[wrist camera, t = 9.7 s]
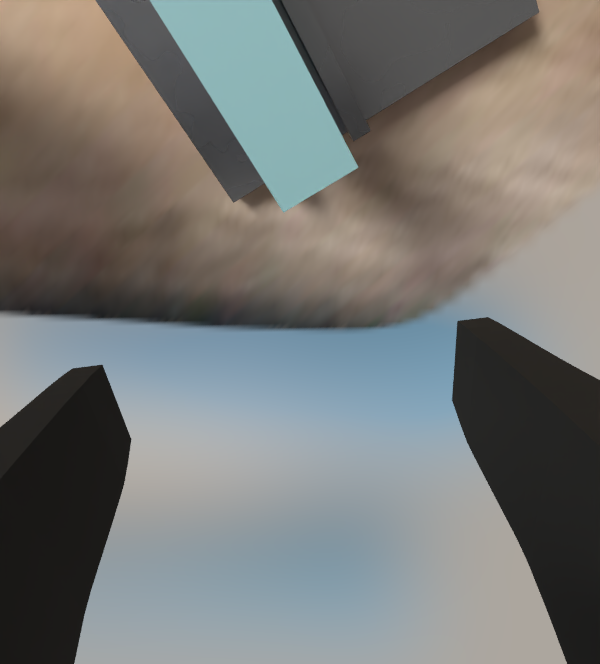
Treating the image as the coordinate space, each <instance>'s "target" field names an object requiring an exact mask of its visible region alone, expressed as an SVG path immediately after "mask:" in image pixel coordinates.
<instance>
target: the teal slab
mask: <svg viewBox="0 0 600 664" xmlns="http://www.w3.org/2000/svg"><path fill="white" fill-rule="evenodd" d="M150 2H151V3H152V5H153V6H154V8H155V10H156V11H157V13H158V14H159V16H160V18H161V19H162V21H163V22H164V24H165V25H166V27H167V29H168V30H169V32H170V33H171V35H172V37H173V38H174V40H175V41H176V43H177V44H178V46H179V48H180V49H181V51H182V52H183V54H184V56H185V57H186V59H187V60H188V62H189V64H190V65H191V67H192V68H193V70H194V71H195V73H196V75H197V76H198V78H199V79H200V81H201V83H202V84H203V86H204V87H205V89H206V91H207V92H208V94H209V95H210V97H211V98H212V100H213V102H214V103H215V105H216V106H217V108H218V110H219V111H220V113H221V114H222V116H223V117H224V119H225V121H226V122H227V124H228V125H229V127H230V129H231V130H232V132H233V133H234V135H235V137H236V138H237V140H238V141H239V143H240V144H241V146H242V148H243V149H244V151H245V152H246V154H247V156H248V157H249V159H250V160H251V162H252V163H253V165H254V167H255V168H256V170H257V171H258V173H259V175H260V176H261V178H262V179H263V181H264V183H265V184H266V186H267V187H268V189H269V190H270V192H271V194H272V195H273V197H274V198H275V200H276V202H277V203H278V205H279V206H280V208H281V210H282V211H283V212H285V211H287V210H288V209H290V208H292V207H293V206H295V205H297V204H298V203H300V202H302V201H303V200H305V199H307V198H308V197H310V196H312V195H313V194H315V193H317V192H318V191H320V190H322V189H323V188H325V187H327V186H328V185H330V184H332V183H333V182H335V181H337V180H338V179H340V178H342V177H343V176H345V175H347V174H348V173H350V172H352V171H353V170H355V169H357V168H358V166H357V164H356V162H355V160H354V158H353V156H352V154H351V152H350V150H349V148H348V146H347V144H346V142H345V141H344V139H343V137H342V135H341V133H340V131H339V129H338V127H337V125H336V123H335V121H334V119H333V117H332V115H331V114H330V112H329V110H328V108H327V106H326V104H325V102H324V100H323V98H322V96H321V94H320V92H319V90H318V88H317V87H316V85H315V83H314V81H313V79H312V77H311V75H310V73H309V71H308V69H307V67H306V65H305V63H304V61H303V60H302V58H301V56H300V54H299V52H298V50H297V48H296V46H295V44H294V42H293V40H292V38H291V36H290V34H289V32H288V31H287V29H286V27H285V25H284V23H283V21H282V19H281V17H280V15H279V13H278V11H277V9H276V7H275V5H274V4H273V2H272V0H150Z"/></svg>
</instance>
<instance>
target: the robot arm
mask: <svg viewBox="0 0 600 664" xmlns="http://www.w3.org/2000/svg"><path fill="white" fill-rule="evenodd" d="M456 338H457V339H456V353H455V366H454V367H455V368H454V382H453V397H452V401H453V404H454V406H455V410H456V413H457V416H458V418H459V421H460V424H461V427H462V430H463V432H464V435H465V438H466V440H467V443H468V444H469V447H470V449H471V451H472V453H473V455H474V457H475V459H476V461H477V463H478V465H479V467H480V469H481V470H482V472H483V474H484V476H485V478H486V480H487V482H488V484H489V486H490V488H491V490H492V492H493V493H494V496H495V497H496V499H497V501H498V503H499V505H500V507H501V509H502V511H503V513H504V515H505V517H506V519H507V520H508V522H509V524H510V526H511V528H512V530H513V531H514V534H515V536H516V538H517V540H518V542H519V544H520V546H521V548H522V550H523V553H524V555H525V557H526V559H527V561H528V564H529V566H530V569H531V571H532V573H533V576H534V579H535V581H536V583H537V586H538V589H539V591H540V594H541V596H542V599H543V601H544V603H545V606H546V609H547V611H548V614H549V617H550V619H551V622H552V624H553V627H554V630H555V632H556V635H557V638H558V640H559V643H560V646H561V648H562V651H563V654H564V656H565V659H566V661H567V664H600V380H598V379H596V378H595V377H593V376H591V375H589V374H587V373H585V372H583V371H581V370H580V369H578V368H576V367H574V366H572V365H571V364H569V363H567V362H565V361H563V360H562V359H560V358H558V357H556V356H555V355H553V354H551V353H550V352H548V351H546V350H544V349H543V348H541V347H539V346H538V345H536V344H534V343H532V342H531V341H529V340H527V339H526V338H524V337H522V336H521V335H519V334H517V333H515V332H514V331H512V330H510V329H509V328H507V327H505V326H503V325H502V324H500V323H498V322H496V321H494V320H492V319H490V318H488V317H487V318H479V319H470V320H462V321H458V323H457V337H456ZM130 444H131V438H130V435H129V432H128V430H127V427H126V425H125V422H124V419H123V417H122V414H121V412H120V409H119V407H118V404H117V401H116V399H115V396H114V394H113V391H112V389H111V386H110V383H109V381H108V378H107V376H106V373H105V370H104V368H103V365H97V366H90V367H81V368H73V369H71V370H70V371H69V372H67V373H66V374H64V375H63V376H62V377H60V378H59V379H58V380H57V381H55V382H54V383H53V384H51V385H50V386H49V387H48V388H47V389H45V390H44V391H43V392H42V393H41V394H39V395H38V396H37V397H36V398H35V399H34V400H33V401H31V402H30V403H29V404H28V405H27V406H25V407H24V408H23V409H22V410H21V411H20V412H18V413H17V414H16V415H15V416H14V417H12V418H11V419H10V420H9V421H8V422H6V423H5V424H4V425H3V426H1V427H0V664H74V662H75V657H76V652H77V647H78V642H79V638H80V633H81V628H82V623H83V619H84V614H85V610H86V607H87V602H88V599H89V596H90V592H91V588H92V585H93V582H94V579H95V576H96V573H97V569H98V566H99V563H100V560H101V557H102V554H103V550H104V547H105V544H106V541H107V538H108V535H109V532H110V528H111V525H112V522H113V519H114V516H115V512H116V509H117V506H118V503H119V499H120V496H121V492H122V489H123V485H124V481H125V476H126V470H127V465H128V458H129V451H130Z"/></svg>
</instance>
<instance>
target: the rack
mask: <svg viewBox="0 0 600 664" xmlns="http://www.w3.org/2000/svg"><path fill="white" fill-rule="evenodd" d="M96 2H97V3H98V5H99V6H100V7H101V9H102V10H103V12H104V13H105V15H106V16H107V18H108V19H109V21H110V22H111V24H112V25H113V27H114V28H115V29H116V31H117V32H118V34H119V35H120V37H121V38H122V40H123V41H124V43H125V44H126V46H127V47H128V49H129V50H130V51H131V53H132V54H133V56H134V57H135V59H136V60H137V62H138V63H139V65H140V66H141V68H142V69H143V71H144V72H145V74H146V75H147V76H148V78H149V79H150V81H151V82H152V84H153V85H154V87H155V88H156V90H157V91H158V93H159V94H160V96H161V97H162V98H163V100H164V101H165V103H166V104H167V106H168V107H169V109H170V110H171V112H172V113H173V115H174V116H175V118H176V119H177V120H178V122H179V123H180V125H181V126H182V128H183V129H184V131H185V132H186V134H187V135H188V137H189V138H190V140H191V141H192V142H193V144H194V145H195V147H196V148H197V150H198V151H199V153H200V154H201V156H202V157H203V159H204V160H205V162H206V163H207V164H208V166H209V167H210V169H211V170H212V172H213V173H214V175H215V176H216V178H217V179H218V181H219V182H220V184H221V185H222V186H223V188H224V189H225V191H226V192H227V194H228V195H229V197H230V198H231V200H232V201H233V203H234V202H236V201H237V200H239V199H240V198H242V197H244V196H245V195H247V194H248V193H250V192H252V191H253V190H255V189H256V188H258V187H260V186H261V185H263V184H264V181H263V179H262V178H261V176H260V175H259V173H258V171H257V170H256V168H255V167H254V165H253V163H252V162H251V160H250V159H249V157H248V156H247V154H246V152H245V151H244V149H243V148H242V146H241V144H240V143H239V141H238V140H237V138H236V137H235V135H234V133H233V132H232V130H231V129H230V127H229V125H228V124H227V122H226V121H225V119H224V117H223V116H222V114H221V113H220V111H219V110H218V108H217V106H216V105H215V103H214V102H213V100H212V98H211V97H210V95H209V94H208V92H207V91H206V89H205V87H204V86H203V84H202V83H201V81H200V79H199V78H198V76H197V75H196V73H195V71H194V70H193V68H192V67H191V65H190V64H189V62H188V60H187V59H186V57H185V56H184V54H183V52H182V51H181V49H180V48H179V46H178V44H177V43H176V41H175V40H174V38H173V37H172V35H171V33H170V32H169V30H168V29H167V27H166V25H165V24H164V22H163V21H162V19H161V18H160V16H159V14H158V13H157V11H156V10H155V8H154V6H153V5H152V3H151V2H150V0H96ZM272 2H273V4H274V5H275V7H276V9H277V11H278V13H279V15H280V17H281V19H282V21H283V23H284V25H285V27H286V29H287V31H288V32H289V34H290V36H291V38H292V40H293V42H294V44H295V46H296V48H297V50H298V52H299V54H300V56H301V58H302V60H303V61H304V63H305V65H306V67H307V69H308V71H309V73H310V75H311V77H312V79H313V81H314V83H315V85H316V87H317V88H318V90H319V92H320V94H321V96H322V98H323V100H324V102H325V104H326V106H327V108H328V110H329V112H330V114H331V115H332V117H333V119H334V121H335V123H336V125H337V127H338V129H339V131H340V133H341V135H343V134H345V133H346V132H347V133H348V134H349V136H350V137H351V139H352V140H353V141H355V140H357V139H358V138H360V137H361V136H363V135H365V134H366V133H368V132H370V131H371V130H370V128H369V126H368V124H367V122H366V120H367V119H369V118H370V117H372V116H373V115H375V114H377V113H378V112H380V111H381V110H383V109H385V108H386V107H388V106H390V105H391V104H393V103H394V102H396V101H398V100H399V99H401V98H402V97H404V96H406V95H407V94H409V93H410V92H412V91H414V90H415V89H417V88H418V87H420V86H422V85H423V84H425V83H426V82H428V81H430V80H431V79H433V78H434V77H436V76H438V75H439V74H441V73H442V72H444V71H446V70H447V69H449V68H450V67H452V66H454V65H455V64H457V63H458V62H460V61H462V60H463V59H465V58H466V57H468V56H470V55H471V54H473V53H474V52H476V51H478V50H479V49H481V48H483V47H484V46H486V45H487V44H489V43H491V42H492V41H494V40H495V39H497V38H499V37H500V36H502V35H503V34H505V33H507V32H508V31H510V30H511V29H513V28H515V27H516V26H518V25H519V24H521V23H523V22H524V21H526V20H527V19H529V18H531V17H532V16H534V15H535V14H537V13H539V9H538V6H537V2H536V0H272Z"/></svg>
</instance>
